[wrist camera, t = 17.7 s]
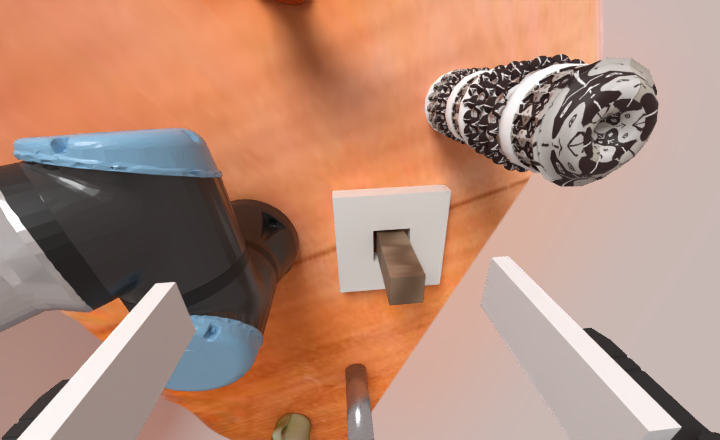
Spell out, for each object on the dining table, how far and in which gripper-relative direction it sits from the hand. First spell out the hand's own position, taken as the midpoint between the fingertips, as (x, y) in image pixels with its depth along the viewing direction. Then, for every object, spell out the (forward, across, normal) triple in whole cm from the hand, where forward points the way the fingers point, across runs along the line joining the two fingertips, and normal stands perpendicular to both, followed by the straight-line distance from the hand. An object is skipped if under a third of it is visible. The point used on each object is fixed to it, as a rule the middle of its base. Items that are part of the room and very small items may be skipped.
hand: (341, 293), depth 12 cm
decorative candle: (+32, +17, +5) cm, 36 cm away
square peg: (+32, +8, -16) cm, 36 cm away
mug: (+32, -16, -67) cm, 76 cm away
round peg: (+32, +1, -51) cm, 60 cm away
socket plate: (+32, +8, -16) cm, 36 cm away
